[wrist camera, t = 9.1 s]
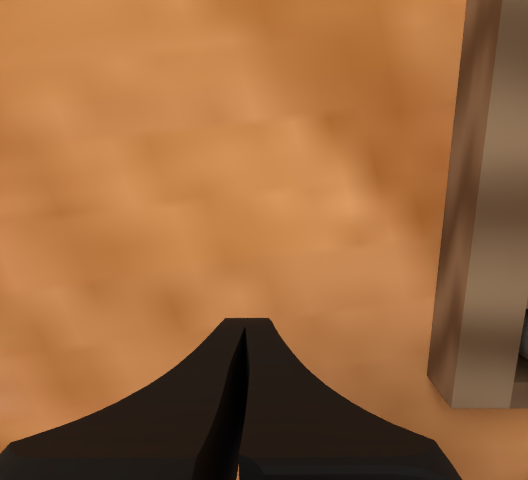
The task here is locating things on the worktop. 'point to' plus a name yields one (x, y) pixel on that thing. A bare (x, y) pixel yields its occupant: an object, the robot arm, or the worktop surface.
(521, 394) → the walnut block
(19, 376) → the worktop surface
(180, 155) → the worktop surface
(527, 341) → the grey plug
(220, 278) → the worktop surface
